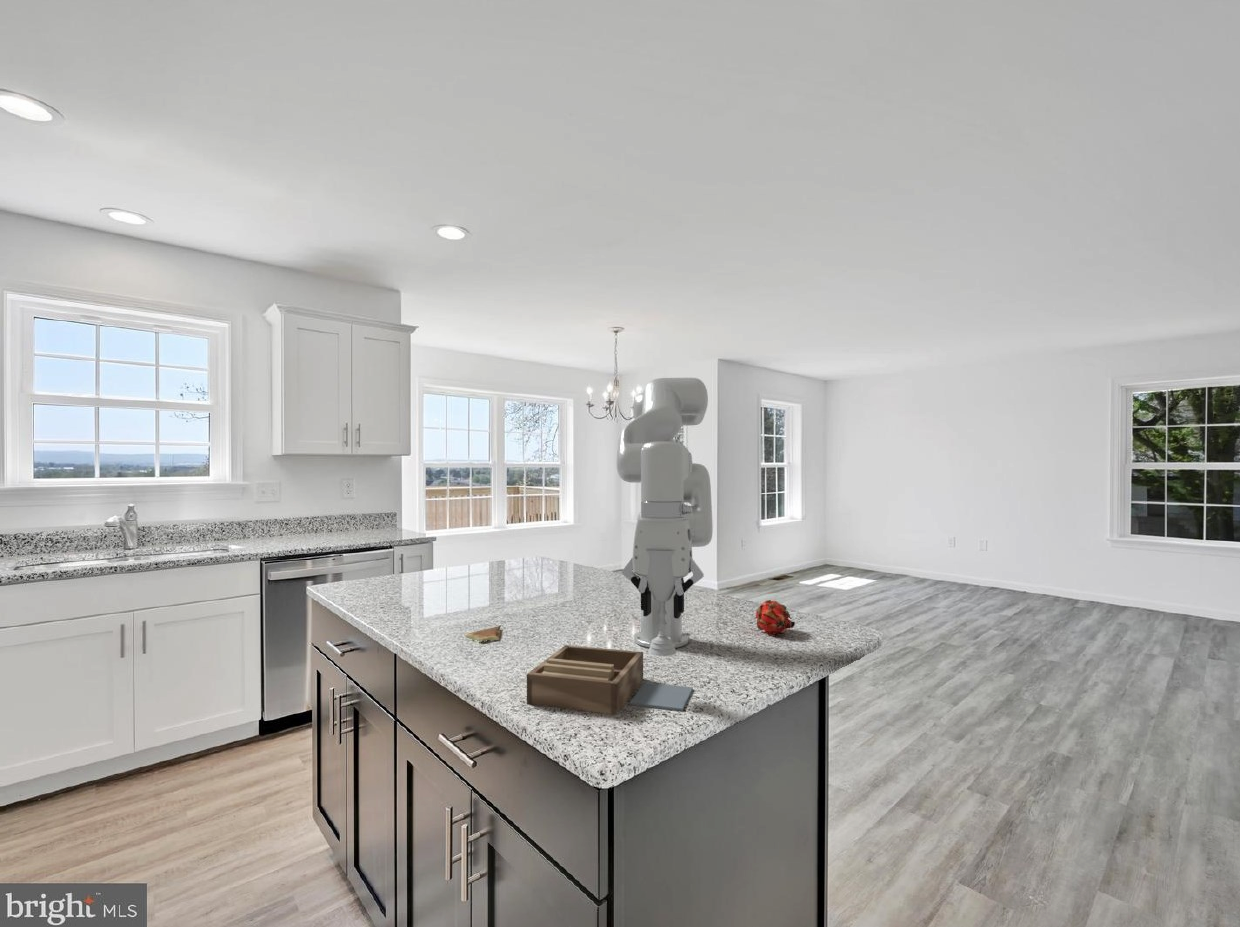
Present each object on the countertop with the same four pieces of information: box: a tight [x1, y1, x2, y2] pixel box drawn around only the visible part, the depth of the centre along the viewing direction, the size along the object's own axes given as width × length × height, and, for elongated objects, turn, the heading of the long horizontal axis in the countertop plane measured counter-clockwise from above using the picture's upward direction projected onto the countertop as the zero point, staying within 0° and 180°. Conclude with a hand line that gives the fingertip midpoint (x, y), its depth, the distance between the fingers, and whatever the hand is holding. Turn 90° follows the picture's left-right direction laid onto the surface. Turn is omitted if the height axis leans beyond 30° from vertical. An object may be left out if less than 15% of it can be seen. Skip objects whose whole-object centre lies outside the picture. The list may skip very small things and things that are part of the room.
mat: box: [629, 681, 694, 712], centre depth 102 cm, size 10×9×1 cm
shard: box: [464, 625, 502, 643], centre depth 140 cm, size 11×8×2 cm
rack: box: [526, 644, 644, 716], centre depth 105 cm, size 18×16×5 cm
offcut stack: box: [542, 657, 614, 681], centre depth 100 cm, size 4×12×6 cm, turn 73°
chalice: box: [645, 549, 677, 657], centre depth 102 cm, size 7×7×18 cm
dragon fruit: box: [755, 599, 796, 637], centre depth 143 cm, size 8×8×12 cm
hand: (662, 614), depth 102 cm, fingers closed on chalice, 4 cm apart
